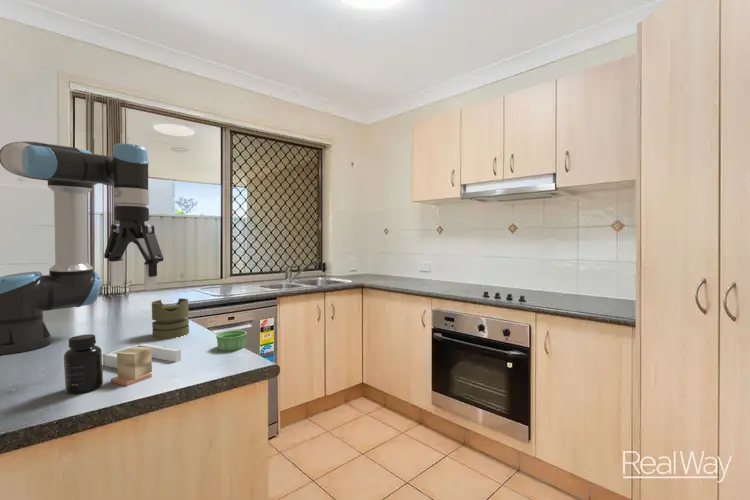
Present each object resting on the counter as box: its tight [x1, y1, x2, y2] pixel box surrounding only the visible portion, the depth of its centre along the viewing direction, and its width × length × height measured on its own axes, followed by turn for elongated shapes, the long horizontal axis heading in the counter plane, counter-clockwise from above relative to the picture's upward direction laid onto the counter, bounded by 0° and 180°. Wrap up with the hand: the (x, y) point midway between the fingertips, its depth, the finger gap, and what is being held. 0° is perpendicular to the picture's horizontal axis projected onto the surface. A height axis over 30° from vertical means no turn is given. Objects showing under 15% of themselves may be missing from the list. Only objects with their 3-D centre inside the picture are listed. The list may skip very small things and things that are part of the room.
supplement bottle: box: [63, 333, 104, 395], centre depth 85 cm, size 7×7×12 cm
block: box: [116, 347, 153, 379], centre depth 91 cm, size 5×5×6 cm
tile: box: [110, 372, 153, 387], centre depth 90 cm, size 6×6×1 cm
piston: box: [151, 298, 190, 340], centre depth 131 cm, size 11×12×11 cm
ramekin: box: [215, 329, 248, 352], centre depth 116 cm, size 9×9×4 cm
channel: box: [102, 343, 182, 369], centre depth 102 cm, size 16×11×3 cm
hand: (133, 287), depth 97 cm, fingers open, 13 cm apart
